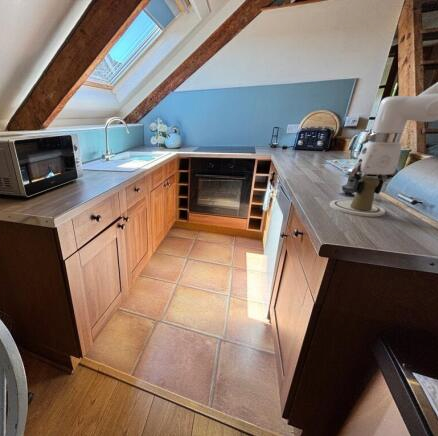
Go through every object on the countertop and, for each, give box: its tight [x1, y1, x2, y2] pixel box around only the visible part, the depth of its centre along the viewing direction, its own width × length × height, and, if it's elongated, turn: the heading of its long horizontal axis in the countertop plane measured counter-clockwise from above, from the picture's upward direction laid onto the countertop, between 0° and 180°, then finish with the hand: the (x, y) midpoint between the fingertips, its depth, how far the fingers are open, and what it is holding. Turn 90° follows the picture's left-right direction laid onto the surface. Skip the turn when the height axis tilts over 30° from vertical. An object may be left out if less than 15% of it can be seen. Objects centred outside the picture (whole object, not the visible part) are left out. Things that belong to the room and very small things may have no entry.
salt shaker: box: [340, 171, 358, 198], centre depth 104 cm, size 6×6×12 cm
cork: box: [350, 176, 379, 210], centre depth 86 cm, size 6×6×11 cm
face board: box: [329, 199, 386, 218], centre depth 91 cm, size 16×16×1 cm
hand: (365, 191), depth 86 cm, fingers closed on cork, 5 cm apart
